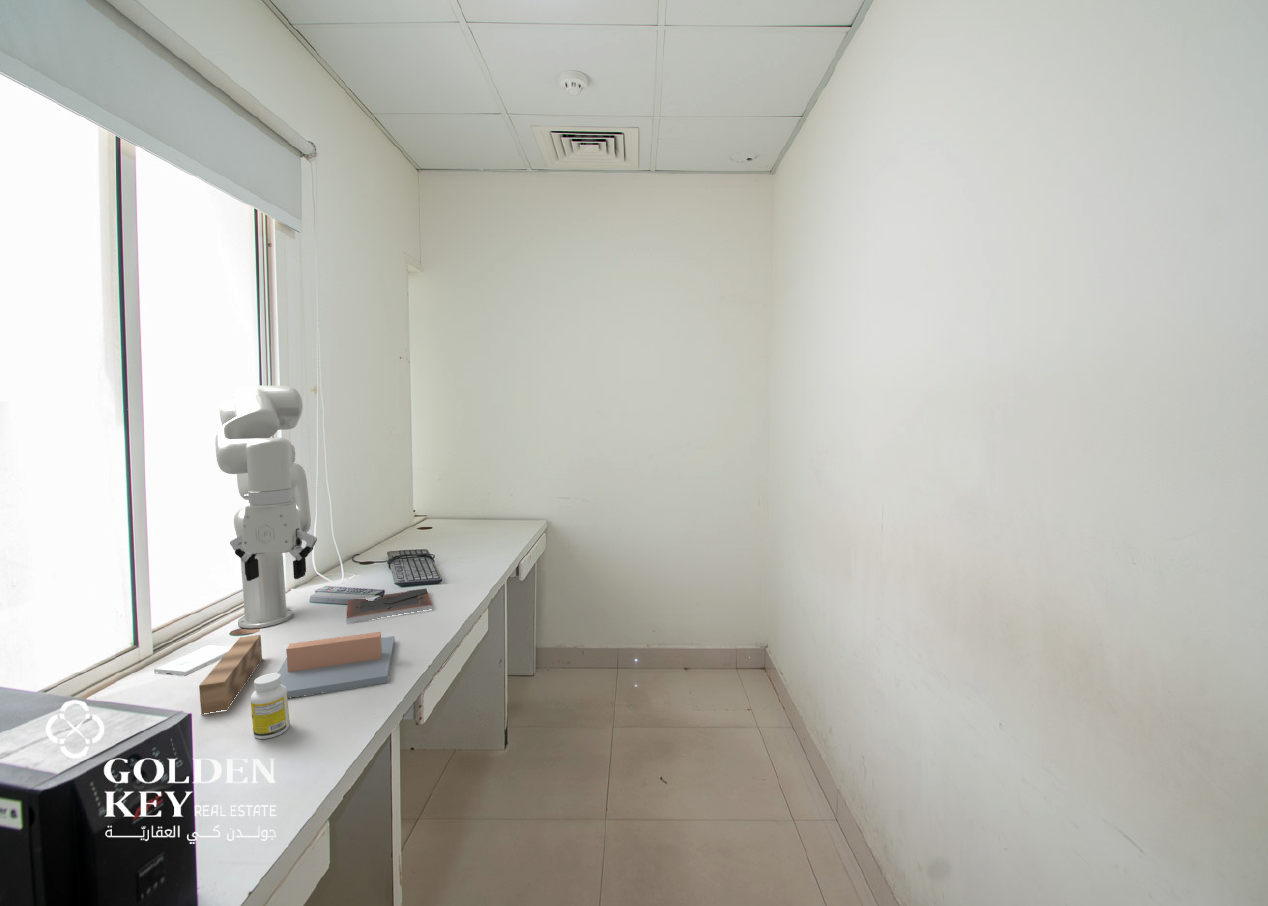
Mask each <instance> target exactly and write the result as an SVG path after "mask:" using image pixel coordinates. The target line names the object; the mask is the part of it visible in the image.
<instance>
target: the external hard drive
mask: <svg viewBox="0 0 1268 906" xmlns="http://www.w3.org/2000/svg"><path fill="white" fill-rule="evenodd" d="M231 647H232V646H225V645H223V646H221V645H210V644H209V645H205V646H203V647H201V648H199V649H196V650H194V651H193V652H190V653H188V654H186V655H183V656H181V657H179V658H177V659H175V660H171V661H170V662H167V663H166V664H163V665H161V666H159V667H157V668H155V669H153V673H154V672H158V673H157V674H160V673H165V674H164V675H172V674H176V675H175V676H182V675H186V676H187V674H188V675H190V674H192V673H194V672H195V671H198V670H200V669H202V668H204V667H206V666H205V665H207V664H209V663H211V664H213V663H215V662H217V661H220V660H221V659H222V658H223V657H224V656H225V654H226V653H227V652H228V651H229V650H230V649H231ZM209 665H210V664H209ZM203 666H204V667H203ZM207 666H208V665H207ZM167 673H169V674H167ZM189 673H190V674H189Z"/></svg>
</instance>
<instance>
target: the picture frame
mask: <svg viewBox="0 0 1268 906" xmlns="http://www.w3.org/2000/svg"><path fill="white" fill-rule="evenodd" d="M382 595H383V597H382V598H381V599H379V600H377V601H368V600H366V599H358V598H353V599H348V600H347V607H346V625H349V624H356V623H357V624H358V623H362V622H368V620H370V621H373V620H372V619H376V620H378V619H377V618H381V617H387V616H392V615H398V614H404V613H411V612H417V611H423V610H429V609H432V610H433V603H432V601H431V598H430V595H429V592H428V589H427V587H426V588H421V589H412V590H407V591H401V592H395V593H388V594H382Z"/></svg>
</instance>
